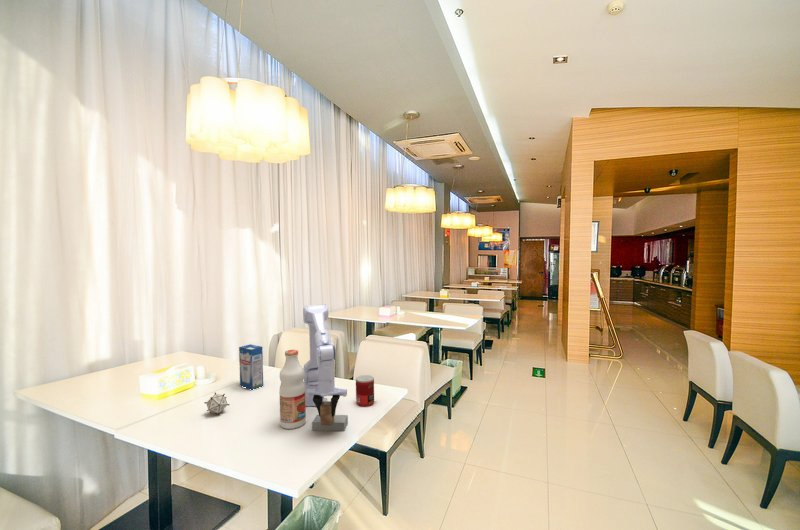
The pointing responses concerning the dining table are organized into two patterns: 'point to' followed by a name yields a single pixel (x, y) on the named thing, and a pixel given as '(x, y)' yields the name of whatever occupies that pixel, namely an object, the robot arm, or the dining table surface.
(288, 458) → the dining table surface
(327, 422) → the walnut block
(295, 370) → the fruit juice
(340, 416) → the gray rectangular block
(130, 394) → the dining table surface
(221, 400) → the grey spiked polyhedron
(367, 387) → the canned food
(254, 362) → the milk carton
